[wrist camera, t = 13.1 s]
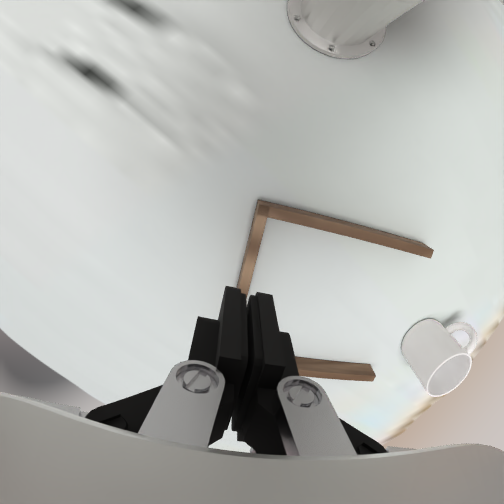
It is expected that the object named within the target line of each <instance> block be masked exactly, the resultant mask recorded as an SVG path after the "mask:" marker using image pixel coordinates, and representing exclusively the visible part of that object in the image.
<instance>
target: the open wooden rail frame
mask: <svg viewBox="0 0 504 504" xmlns="http://www.w3.org/2000/svg"><path fill="white" fill-rule="evenodd" d="M267 217H269V218H273V219H277V220H282V221H286V222H290V223H295V224H299V225H303V226H307V227H311V228H316V229H320V230H324V231H328V232H332V233H336V234H340V235H344V236H348V237H352V238H356V239H360V240H364V241H368V242H371V243H375V244H379V245H383V246H387V247H390V248H394V249H398V250H402V251H405V252H409V253H413V254H416V255H420V256H424V257H427V258H431V257H432V254H433V251H434V250H433V249H431V248H430V247H428V246H427V245H425V244H423V243H421V242H417V241H414V240H411V239H407V238H404V237H400V236H397V235H394V234H390V233H387V232H383V231H380V230H376V229H372V228H369V227H365V226H362V225H358V224H354V223H350V222H347V221H343V220H339V219H335V218H331V217H328V216H324V215H320V214H316V213H312V212H308V211H304V210H300V209H296V208H292V207H287V206H283V205H279V204H275V203H271V202H266V201H262V200H258V201H257V205H256V209H255V213H254V218H253V222H252V226H251V230H250V234H249V238H248V242H247V246H246V251H245V255H244V259H243V263H242V267H241V271H240V275H239V280H238V284H237V288H239V289H241V293H244V294H246V298H247V294H248V291H249V287H250V283H251V279H252V275H253V271H254V267H255V263H256V259H257V256H258V252H259V248H260V244H261V240H262V236H263V232H264V228H265V224H266V220H267ZM295 359H296V364H297V368H298V372H299V376H306V377H316V378H327V379H340V380H355V381H373V380H374V378H375V377H376V375H375V373H374V371H373V369H372V367H371V365H370V364H360V363H349V362H338V361H328V360H319V359H311V358H302V357H295Z"/></svg>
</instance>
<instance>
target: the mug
mask: <svg viewBox="0 0 504 504" xmlns="http://www.w3.org/2000/svg"><path fill="white" fill-rule="evenodd" d="M458 330H463V331H465V332H467V333H468V335H469V337H470V341H469V343H468V345H467V346H465V347H464V348H463V347H462V346H461V345H460V344H459V343H458V342H457V341H456V339H455V338H454V337H453V336H452V335H451V334H452V333H453V332H455V331H458ZM476 345H477V333H476V331H475V329H474V328H473V327H472V326H471V325H469V324H467V323H464V322H457V323H454V324H451V325H449V326H448V327H446V328H444V326H443V325H442V324H440V323H439V322H438V321H436V320H434V319H426V320H423V321H420V322H418V323H417V324H415V325H414V326H413V327H412V328H411V329H410V330H409V331H408V332H407V334H406V335H405V337H404V339H403V342H402V353H403V356H404V357H405V359H406V361H407V362H408V364H409V365H410V367H411V368H412V370H413V371H414V373H415V374H416V376H417V378H418V379H419V381H420V382H421V384H422V385H423V387H424V388H425V390H426V392H427V393H428V394H429V395H430V396H433V397H438V396H442V395H445V394H447V393H449V392H451V391H452V390H453V389H455V388H456V387H457V386H458V385H460V384H461V382H462V381H463V380H464V379H465V378H466V376H467V375H468V373H469V371H470V368H471V365H472V359H471V356H470V354H471V353H472V352H473V350H474V349H475V347H476Z"/></svg>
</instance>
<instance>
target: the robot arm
mask: <svg viewBox="0 0 504 504" xmlns="http://www.w3.org/2000/svg"><path fill="white" fill-rule="evenodd" d="M422 1H424V0H288V5H287V12H288V17H289V20H290V23H291V25H292V27H293V29H294V30H295V32H296V33H297V34H298V36H299V37H300V38H301V39H302V40H303V41H304V42H305V43H307V44H308V45H309V46H311V47H312V48H314V49H316V50H317V51H319V52H321V53H323V54H326V55H329V56H332V57H337V58H344V59H352V58H359V57H362V56H365V55H367V54H369V53H371V52H372V51H374V50H375V49H376V48H378V46H379V45H380V44H381V43H382V41H383V39H384V36H385V33H386V26H387V25H388V24H390V23H391V22H393V21H394V20H395V19H397V18H398V17H400V16H401V15H403V14H404V13H406V12H407V11H409V10H410V9H412V8H413V7H415V6H416V5H418V4H419V3H421V2H422ZM500 1H501V2H502V3H503V4H504V0H500ZM295 19H297V20H298V21H296V20H295ZM370 44H371V46H370ZM329 48H330V49H331V50H332V51H330V50H329ZM231 416H232V431H237V441H243V442H246V443H247V444H248V445H249V446H250V447H251V449H250V453H245V452H236V451H228V450H220V449H213V448H208V446H209V445H210V444H212V443H214V442H216V441H217V440H219V439H221V438H222V437H223V433H224V430H227V429H228V426H229V422H230V419H231ZM0 504H504V452H503V451H502V450H500V449H497V448H495V447H492V446H487V445H481V444H454V445H446V446H438V447H431V448H424V449H409V448H398V447H390V446H388V447H387V448H386V449H384V447H383V446H382V445H381V444H379V443H378V442H377V441H375V440H373V439H372V438H370V437H368V436H367V435H365V434H363V433H362V432H360V431H359V430H357V429H356V428H354V427H352V426H351V425H349V424H348V423H346V422H345V421H343V420H341V419H340V418H338V416H337V414H336V412H335V410H334V408H333V406H332V404H331V402H330V400H329V398H328V396H327V394H326V392H325V391H324V389H323V388H322V387H321V386H320V385H319V384H318V383H317V382H315V381H313V380H311V379H309V378H305V377H301V376H299V372H298V368H297V364H296V359H295V355H294V351H293V347H292V342H291V338H290V335H289V333H286V332H280V331H279V327H278V322H277V317H276V311H275V306H274V301H273V296H272V295H270V294H265V293H259V292H257V293H256V295H255V296H254V295H250V297H249V301H248V304H247V305H246V294H244V293H241V289H239V288H234V287H229V286H226V287H225V291H224V295H223V300H222V304H221V309H220V314H219V318H218V320H213V319H208V318H203V317H199V316H198V318H197V323H196V327H195V331H194V336H193V340H192V345H191V349H190V354H189V359H188V360H187V361H183V362H180V363H178V364H176V365H175V366H174V367H173V368H172V369H171V371H170V373H169V375H168V377H167V378H166V380H165V382H164V384H163V385H161V386H158V387H156V388H153V389H150V390H147V391H145V392H142V393H139V394H136V395H133V396H131V397H128V398H125V399H122V400H119V401H116V402H113V403H110V404H107V405H104V406H101V407H98V408H96V409H94V410H92V411H90V412H89V413H88V412H81V410H80V408H79V407H73V406H67V405H62V404H56V403H51V402H46V401H41V400H37V399H32V398H28V397H23V396H16V395H11V394H7V393H3V392H0Z"/></svg>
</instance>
